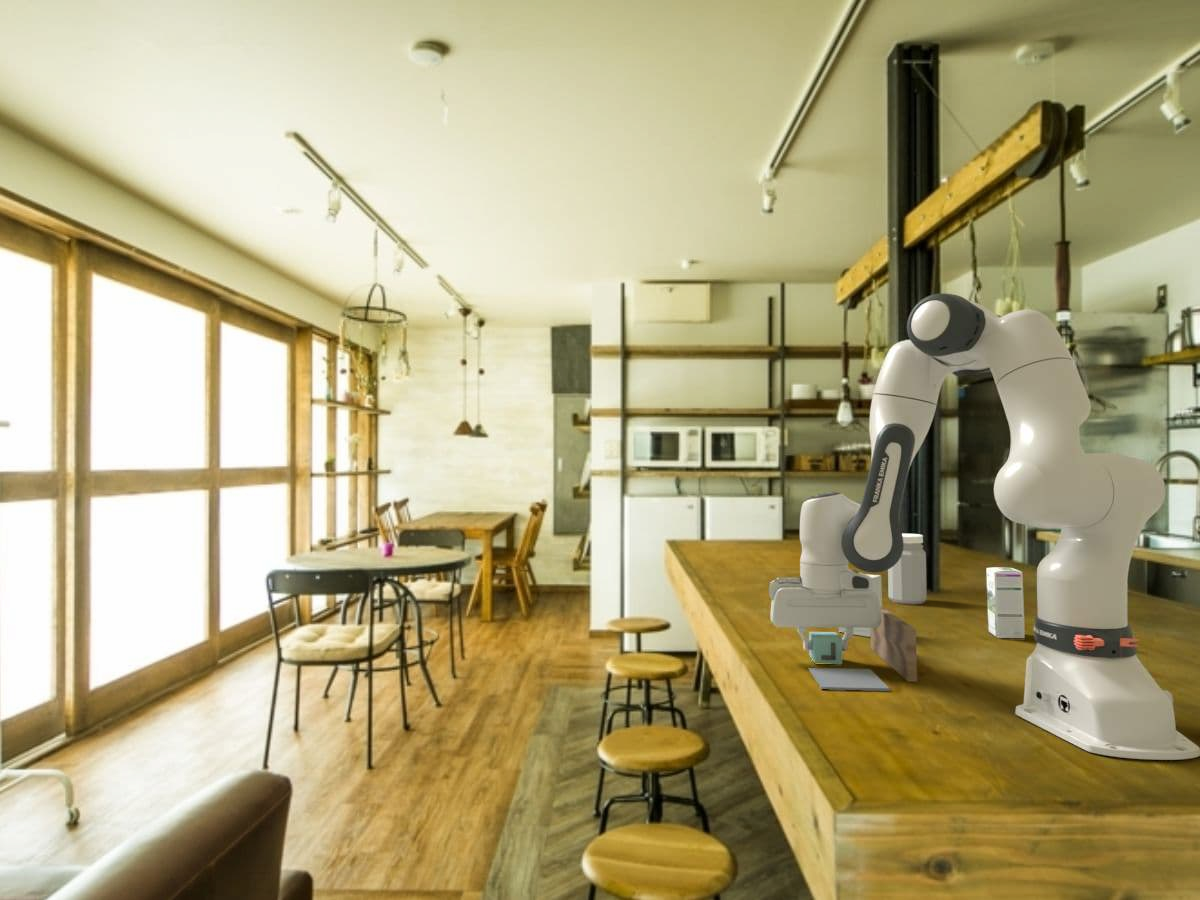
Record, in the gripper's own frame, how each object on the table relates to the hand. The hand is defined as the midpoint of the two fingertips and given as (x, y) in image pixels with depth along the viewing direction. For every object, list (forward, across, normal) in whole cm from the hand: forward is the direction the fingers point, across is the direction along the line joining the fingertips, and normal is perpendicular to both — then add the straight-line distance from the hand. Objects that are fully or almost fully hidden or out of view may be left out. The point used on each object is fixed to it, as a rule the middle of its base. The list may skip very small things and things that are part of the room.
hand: (825, 650), depth 135 cm
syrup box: (+2, +43, +22) cm, 48 cm away
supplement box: (+2, +13, +24) cm, 27 cm away
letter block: (+2, 0, 0) cm, 2 cm away
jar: (+2, +35, +60) cm, 70 cm away
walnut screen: (+2, +12, -1) cm, 12 cm away
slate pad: (+2, +1, -12) cm, 12 cm away
